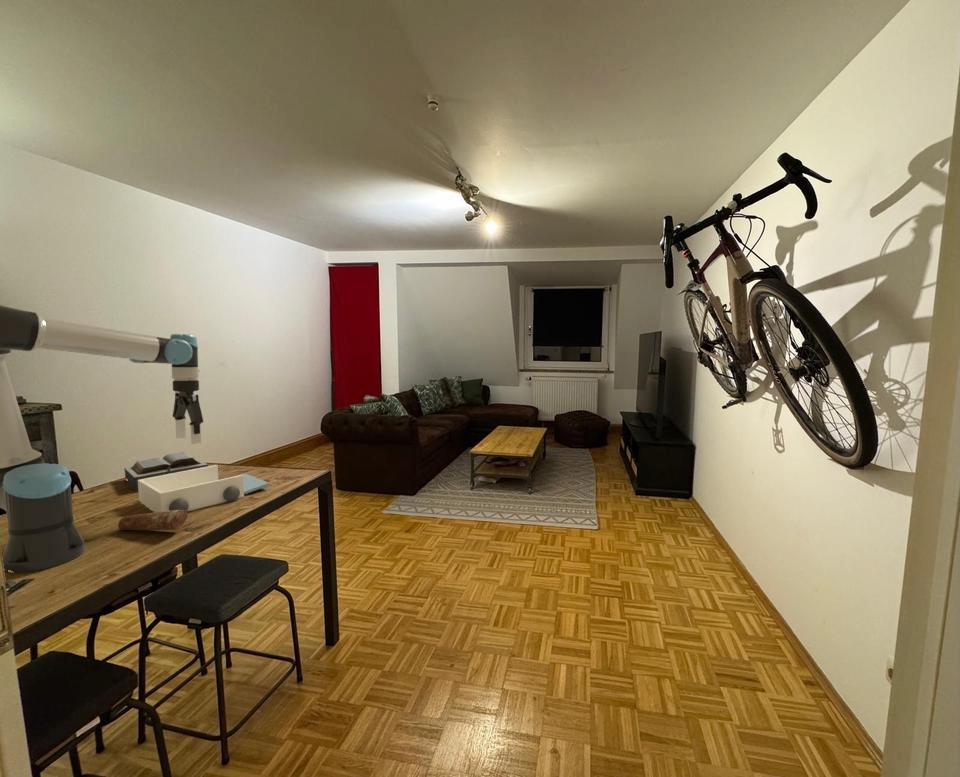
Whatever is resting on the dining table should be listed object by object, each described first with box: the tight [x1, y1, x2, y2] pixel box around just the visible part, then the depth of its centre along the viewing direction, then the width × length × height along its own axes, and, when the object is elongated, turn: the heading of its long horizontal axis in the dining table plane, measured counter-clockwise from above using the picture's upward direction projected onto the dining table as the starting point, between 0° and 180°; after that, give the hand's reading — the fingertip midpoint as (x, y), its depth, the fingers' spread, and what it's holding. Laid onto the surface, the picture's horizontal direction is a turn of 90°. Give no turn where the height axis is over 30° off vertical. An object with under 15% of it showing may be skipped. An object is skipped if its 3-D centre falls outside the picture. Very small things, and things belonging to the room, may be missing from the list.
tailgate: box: [237, 473, 270, 495], centre depth 168 cm, size 1×20×10 cm
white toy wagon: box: [137, 464, 245, 512], centre depth 154 cm, size 25×25×8 cm
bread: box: [117, 510, 188, 531], centre depth 128 cm, size 6×19×6 cm, turn 86°
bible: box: [123, 451, 209, 492], centre depth 175 cm, size 23×27×10 cm
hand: (188, 440), depth 153 cm, fingers open, 13 cm apart
